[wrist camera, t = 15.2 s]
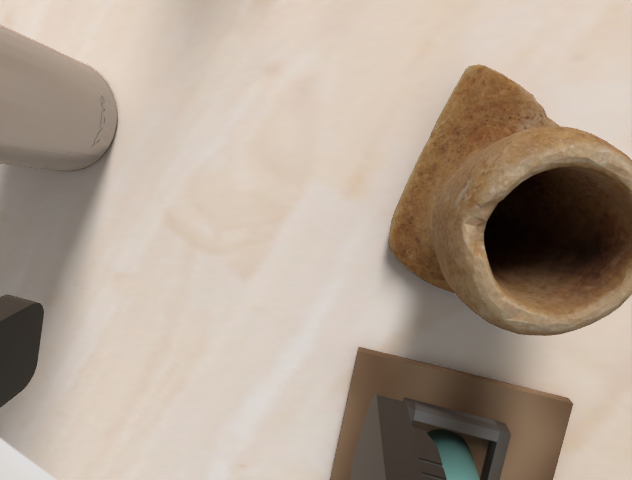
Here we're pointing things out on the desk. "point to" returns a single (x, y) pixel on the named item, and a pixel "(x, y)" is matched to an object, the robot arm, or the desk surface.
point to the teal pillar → (454, 455)
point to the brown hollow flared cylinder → (517, 212)
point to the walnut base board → (460, 415)
